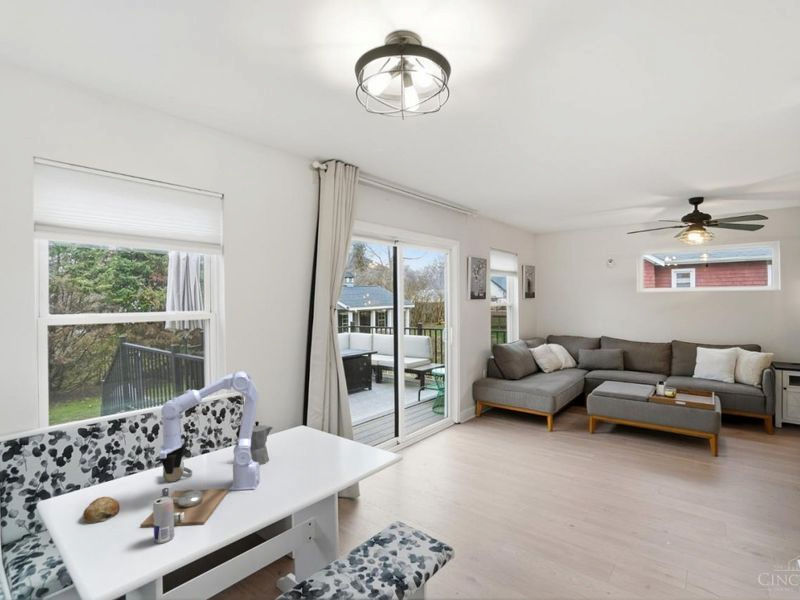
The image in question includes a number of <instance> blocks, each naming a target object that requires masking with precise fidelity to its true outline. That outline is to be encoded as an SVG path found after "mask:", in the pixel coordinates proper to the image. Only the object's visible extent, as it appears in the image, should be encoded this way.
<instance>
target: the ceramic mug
mask: <svg viewBox="0 0 800 600" xmlns="http://www.w3.org/2000/svg"><path fill="white" fill-rule="evenodd" d="M162 475H163V478H164V480H165V481H167V482H169V483H170V482H171V483H174V482H176V481H178V480H179V479H181V478H182V477H183V478H190V477H191V476H192V475H193V470H192V469H190V468H188V467H185V462H184V461H183V459H182V460H181V465H180V467H179V468H174V470H173V473H172V474H166V472H165V469H164V466H163V465H162Z"/></svg>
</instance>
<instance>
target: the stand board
mask: <svg viewBox="0 0 800 600" xmlns="http://www.w3.org/2000/svg"><path fill="white" fill-rule="evenodd" d="M191 491H200V492H202V493H203V500H202V502H201V503H199V504H198V505H195V506H193V507H188V508H181V507H178V503H177V502H176V503H173V512H174V527H178V526H179V527H180V526H181V527H183V526H198V525H199V526H201V525H205V523H207V521H208V520H209V519H210V517H211V516H212V515H213V513H214V511H216V510H217V507H218V506H219V505H221V503H222V502H223V500H224V498H225V497H226V496H227V495H228V493H229V492H230V488H226V487H225V488H209V489H208V488H207V489H204V488H203V489H185V490H184V489H182V490H174V491H173V492H172V493H171V494H170V495H169V496H171V497H179V496H180V495H182V494H184V493H187V492H191ZM140 528H141V529H142V528H154V518H153V512H151V514H150V515H149V516H148V517H147V518H146V519H145V520H143V521H142V522H141V523H140Z"/></svg>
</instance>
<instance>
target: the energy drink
mask: <svg viewBox="0 0 800 600" xmlns="http://www.w3.org/2000/svg"><path fill="white" fill-rule="evenodd" d="M152 511H153V512H152V513H153V518H154V527H153V540H154V542H155V543H156V544H165V543H168V542H170V541H171V540H172V539H174V537H175V526H174V512H173V499H172V497H171V496H170V495H169V496H164V497H162V496H160V497H158V498H156V499H155V500H153V505H152Z"/></svg>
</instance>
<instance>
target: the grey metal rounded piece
mask: <svg viewBox="0 0 800 600" xmlns="http://www.w3.org/2000/svg"><path fill="white" fill-rule="evenodd" d="M169 490H170V489H169V487H164V488H162V489H161V497H164V496H170V495H169ZM172 499H173V503H176V502H177V503H178V507H181V508H188V507H193V506H195V505H198V504H199V503H201V502H202V500H203V493H202V492H200V491H191V492H187V493H184V494H182V495H180V496H179V497H172Z"/></svg>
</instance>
